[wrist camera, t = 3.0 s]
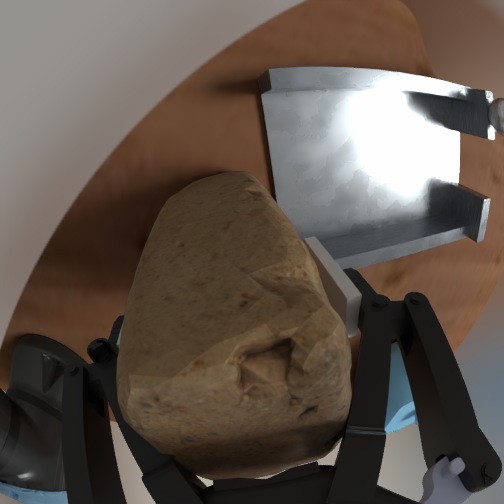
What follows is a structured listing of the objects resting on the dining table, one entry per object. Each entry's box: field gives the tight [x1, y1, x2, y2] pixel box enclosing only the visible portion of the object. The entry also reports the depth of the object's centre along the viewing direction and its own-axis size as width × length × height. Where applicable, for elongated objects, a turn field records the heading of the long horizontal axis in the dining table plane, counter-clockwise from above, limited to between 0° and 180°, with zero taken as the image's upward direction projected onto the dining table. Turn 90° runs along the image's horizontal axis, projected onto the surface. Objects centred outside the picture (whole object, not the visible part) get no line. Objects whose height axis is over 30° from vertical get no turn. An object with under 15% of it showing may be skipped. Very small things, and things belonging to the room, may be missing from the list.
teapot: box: [385, 342, 418, 434], centre depth 33 cm, size 18×16×14 cm
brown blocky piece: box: [116, 171, 352, 480], centre depth 16 cm, size 11×8×20 cm
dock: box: [258, 67, 504, 270], centre depth 19 cm, size 25×17×10 cm
